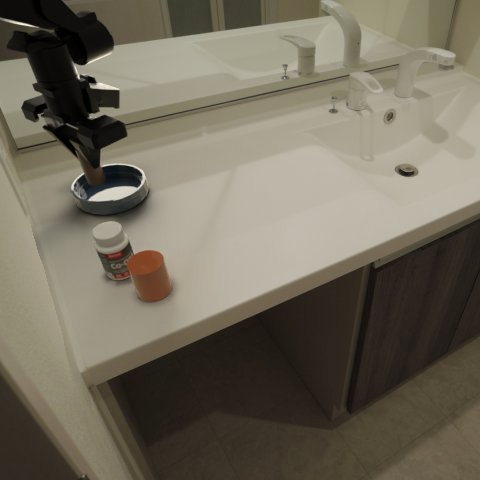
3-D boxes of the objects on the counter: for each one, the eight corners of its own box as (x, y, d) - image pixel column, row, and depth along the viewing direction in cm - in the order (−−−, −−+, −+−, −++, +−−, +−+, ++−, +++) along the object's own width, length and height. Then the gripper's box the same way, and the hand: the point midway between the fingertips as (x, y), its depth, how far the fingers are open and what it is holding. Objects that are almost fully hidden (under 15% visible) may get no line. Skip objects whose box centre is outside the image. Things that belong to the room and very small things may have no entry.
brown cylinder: (84, 184, 75) (70, 149, 70) (94, 175, 77) (81, 141, 72) (99, 187, 74) (86, 152, 70) (109, 178, 76) (97, 143, 72)
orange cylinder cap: (131, 298, 62) (119, 271, 58) (147, 274, 66) (138, 247, 62) (162, 304, 61) (153, 277, 57) (177, 280, 65) (169, 252, 61)
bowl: (61, 210, 76) (54, 196, 74) (102, 172, 86) (97, 159, 84) (126, 222, 75) (121, 208, 73) (161, 182, 85) (157, 168, 82)
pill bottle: (118, 285, 64) (101, 245, 58) (100, 271, 66) (82, 231, 60) (144, 268, 67) (130, 228, 61) (127, 255, 69) (112, 215, 63)
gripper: (142, 74, 65) (163, 161, 75) (66, 48, 71) (95, 132, 82) (78, 97, 57) (111, 190, 68) (0, 67, 64) (41, 156, 74)
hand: (90, 164), depth 73 cm, fingers closed on brown cylinder, 3 cm apart
